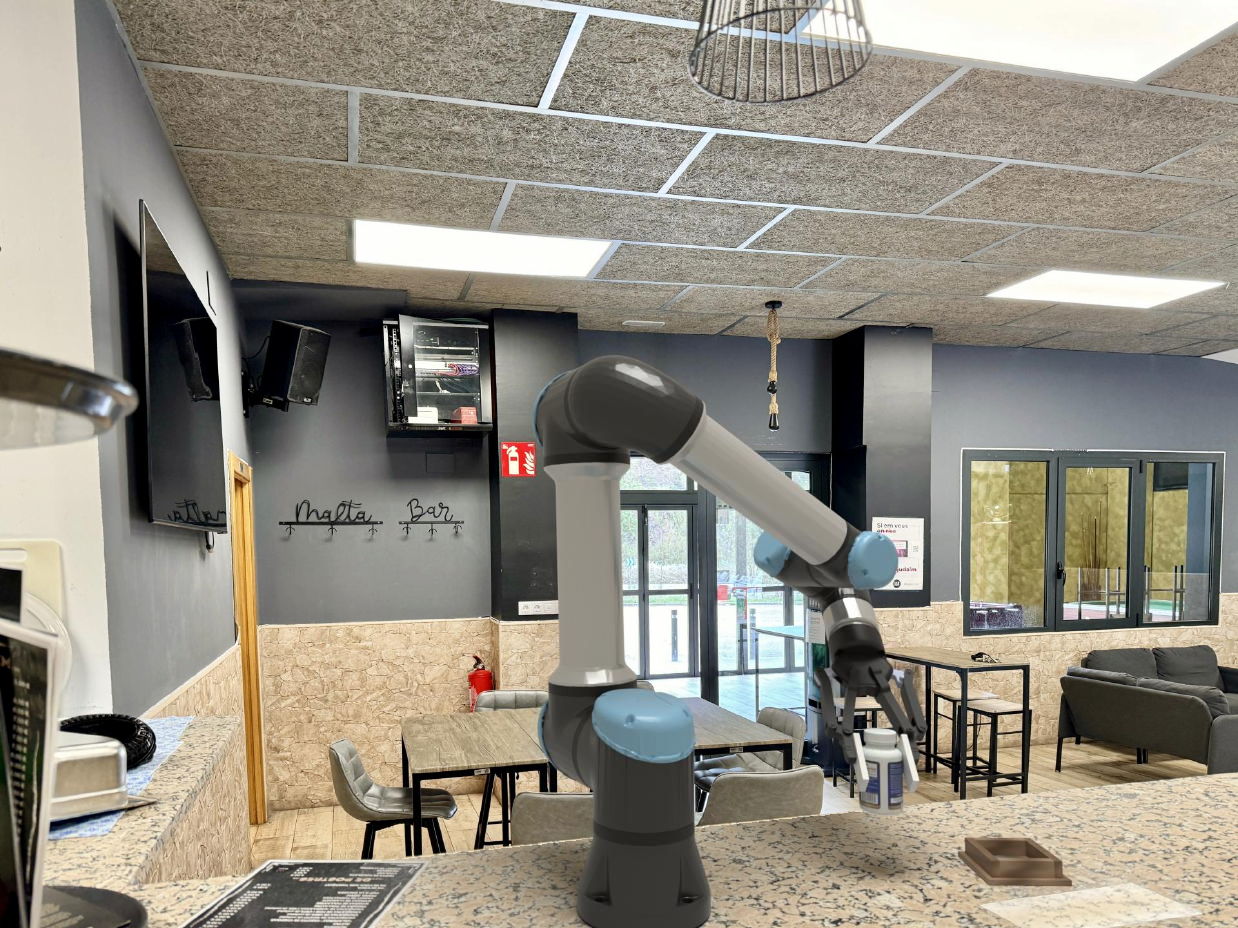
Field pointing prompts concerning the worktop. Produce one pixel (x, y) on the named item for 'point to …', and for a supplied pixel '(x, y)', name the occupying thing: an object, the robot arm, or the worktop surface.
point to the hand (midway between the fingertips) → (889, 785)
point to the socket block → (1013, 862)
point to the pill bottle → (882, 773)
